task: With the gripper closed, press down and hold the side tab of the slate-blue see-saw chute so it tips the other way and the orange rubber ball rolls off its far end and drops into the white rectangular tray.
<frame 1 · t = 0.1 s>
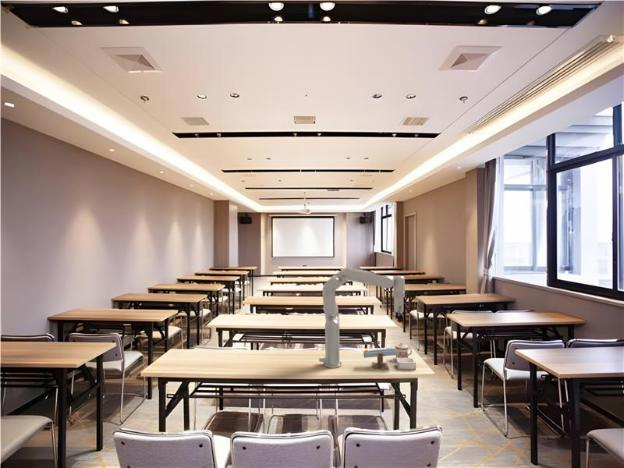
hand: (399, 320, 243), 31 cm above the table, fingers open, 9 cm apart
teacup with lid: (403, 359, 258), on the table
white rectangular tray: (405, 366, 242), on the table
lever: (379, 351, 247), point 9 cm above the table, hinge at -6.0°, touching ball
ball: (366, 352, 245), point 9 cm above the table, tilted 19°, touching lever
stand: (380, 366, 244), on the table
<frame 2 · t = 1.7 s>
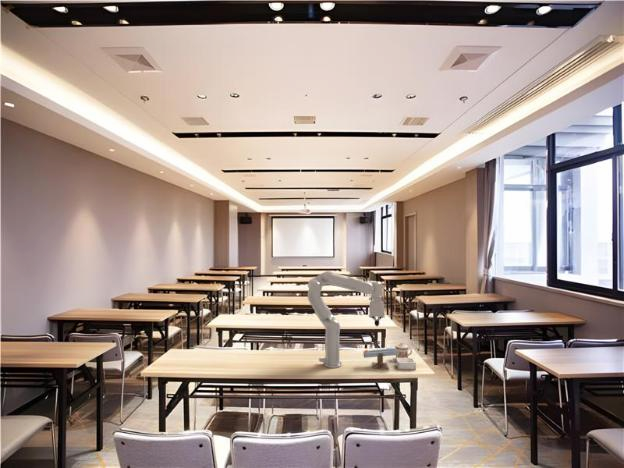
hand: (376, 325, 252), 25 cm above the table, fingers closed
nothing on the table moved.
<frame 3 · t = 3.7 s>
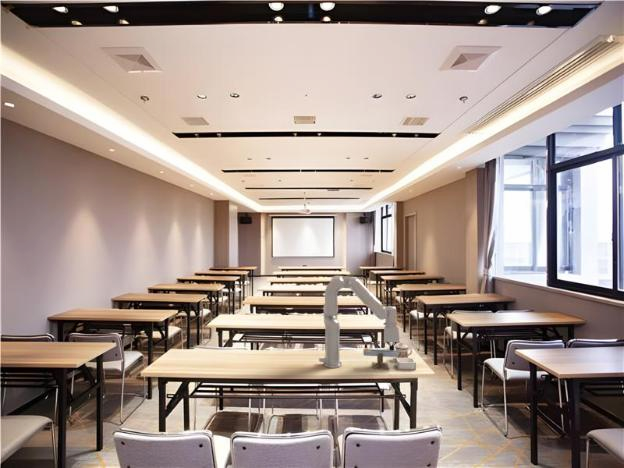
hand: (391, 351, 249), 8 cm above the table, fingers closed
lever: (379, 351, 247), point 9 cm above the table, hinge at 1.7°, touching ball, gripper
ball: (367, 350, 245), point 10 cm above the table, tilted 9°, touching lever
everything else where it was.
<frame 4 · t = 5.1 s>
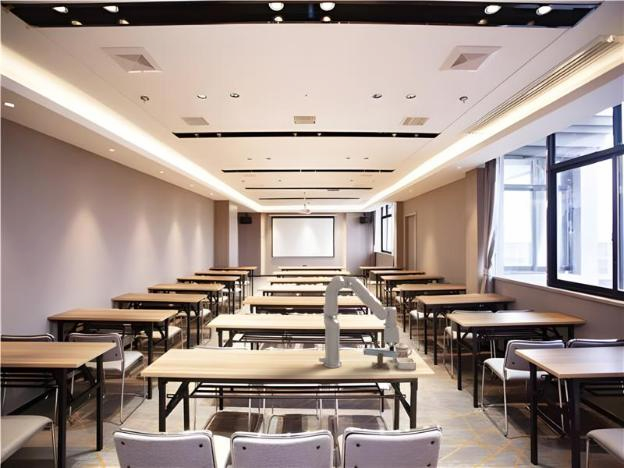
hand: (391, 351, 249), 8 cm above the table, fingers closed
lever: (379, 351, 247), point 9 cm above the table, hinge at 4.3°, touching gripper
ball: (410, 363, 242), point 2 cm above the table, tilted 48°, touching white rectangular tray
everything else where it was.
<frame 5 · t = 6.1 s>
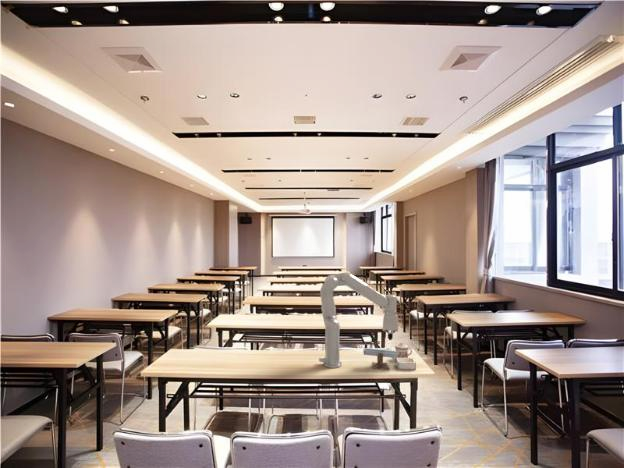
hand: (390, 339, 249), 16 cm above the table, fingers closed
lever: (379, 351, 247), point 9 cm above the table, hinge at 4.3°
ball: (410, 363, 242), point 2 cm above the table, tilted 63°, touching white rectangular tray
everything else where it was.
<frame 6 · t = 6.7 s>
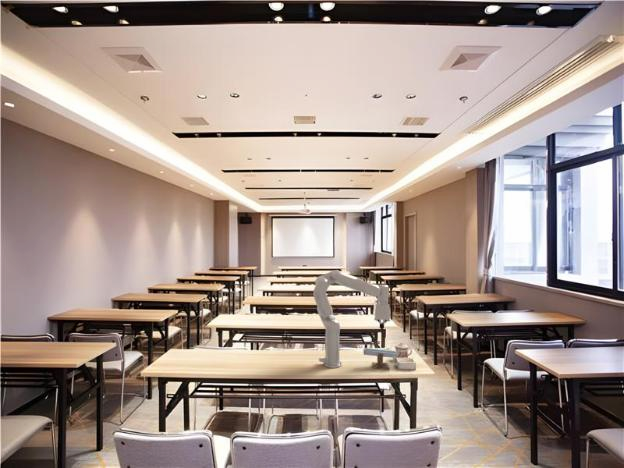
hand: (381, 329, 252), 23 cm above the table, fingers closed
ball: (409, 363, 242), point 2 cm above the table, tilted 72°, touching white rectangular tray
everything else where it was.
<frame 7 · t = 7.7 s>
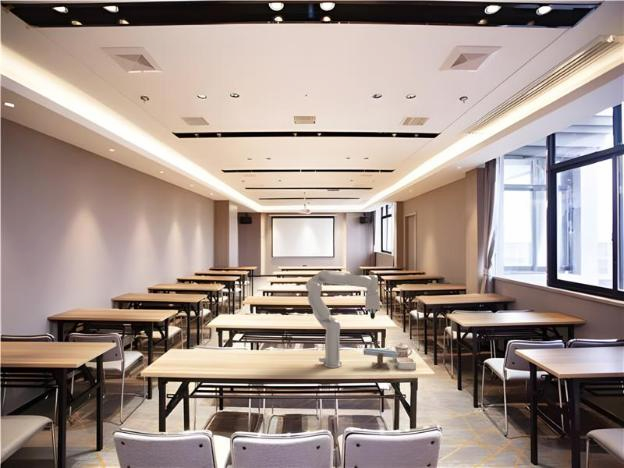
hand: (372, 318, 256), 29 cm above the table, fingers closed
ball: (409, 363, 242), point 2 cm above the table, tilted 87°, touching white rectangular tray
everything else where it was.
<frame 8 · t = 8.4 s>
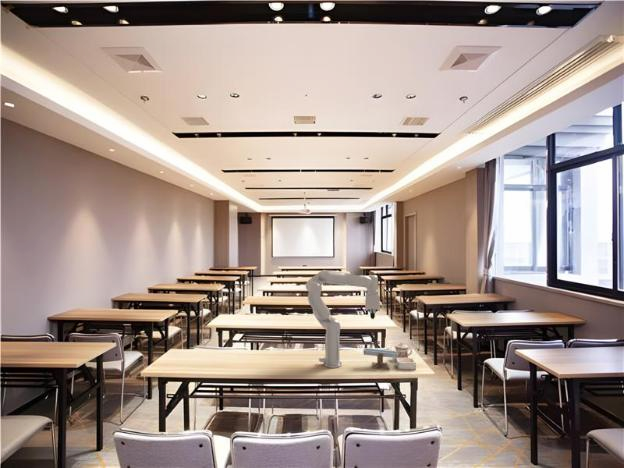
hand: (372, 318, 256), 29 cm above the table, fingers closed
ball: (408, 363, 242), point 2 cm above the table, tilted 97°, touching white rectangular tray
everything else where it was.
at the end: ball inside the target area on the white rectangular tray (1.7 cm from its centre), point 2.2 cm above the white rectangular tray's base; lever at +4° (first picture: -6°) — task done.
